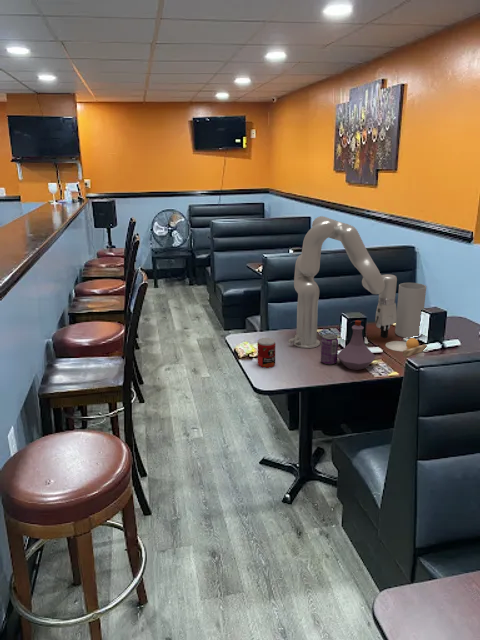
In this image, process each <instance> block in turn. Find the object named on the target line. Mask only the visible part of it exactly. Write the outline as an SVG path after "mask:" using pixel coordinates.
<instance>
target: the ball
mask: <svg viewBox="0 0 480 640" xmlns="http://www.w3.org/2000/svg"><path fill="white" fill-rule="evenodd" d="M406 340H407V341H405V342H406V346H407V348H408V349H411V348H414V347H417V346H420V344H419V340H418V339H417V338H407V339H406Z"/></svg>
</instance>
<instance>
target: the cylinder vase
mask: <svg viewBox="0 0 480 640" xmlns="http://www.w3.org/2000/svg"><path fill="white" fill-rule="evenodd" d="M426 295H427V286H426V285H425V284H422V283H418V282H403V283H400V284H398V293H397V303H396V308H397V319H396V322H395V328H394V329H395V330H394V332H395V335H396V336H398V337H400V338H405V339H407V338H406V337H413V336H418V334H419V326H420V315H421V310H422V309H424V310H425V305H426V304H425V303H426Z"/></svg>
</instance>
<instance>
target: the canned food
mask: <svg viewBox="0 0 480 640" xmlns="http://www.w3.org/2000/svg"><path fill="white" fill-rule="evenodd" d="M257 364H258V366H259V367H260V366H261V367H260V368H263V367H266V368H265V369H270V368H269V367H271V368H273V367H274V366H275V365H276V340H275V339H274V338H270V337H262V338H259V339H257Z"/></svg>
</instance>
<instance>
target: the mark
mask: <svg viewBox="0 0 480 640" xmlns="http://www.w3.org/2000/svg"><path fill="white" fill-rule="evenodd" d="M406 342H407V341H401V340H400V341H399V340H392V341H388V342H386V343H385V347H386V348H387V349H389V350H391V351H394V352H395V351H396V352H402V353H403V351H404V350H407V349H408V348H407V346H406Z"/></svg>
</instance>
